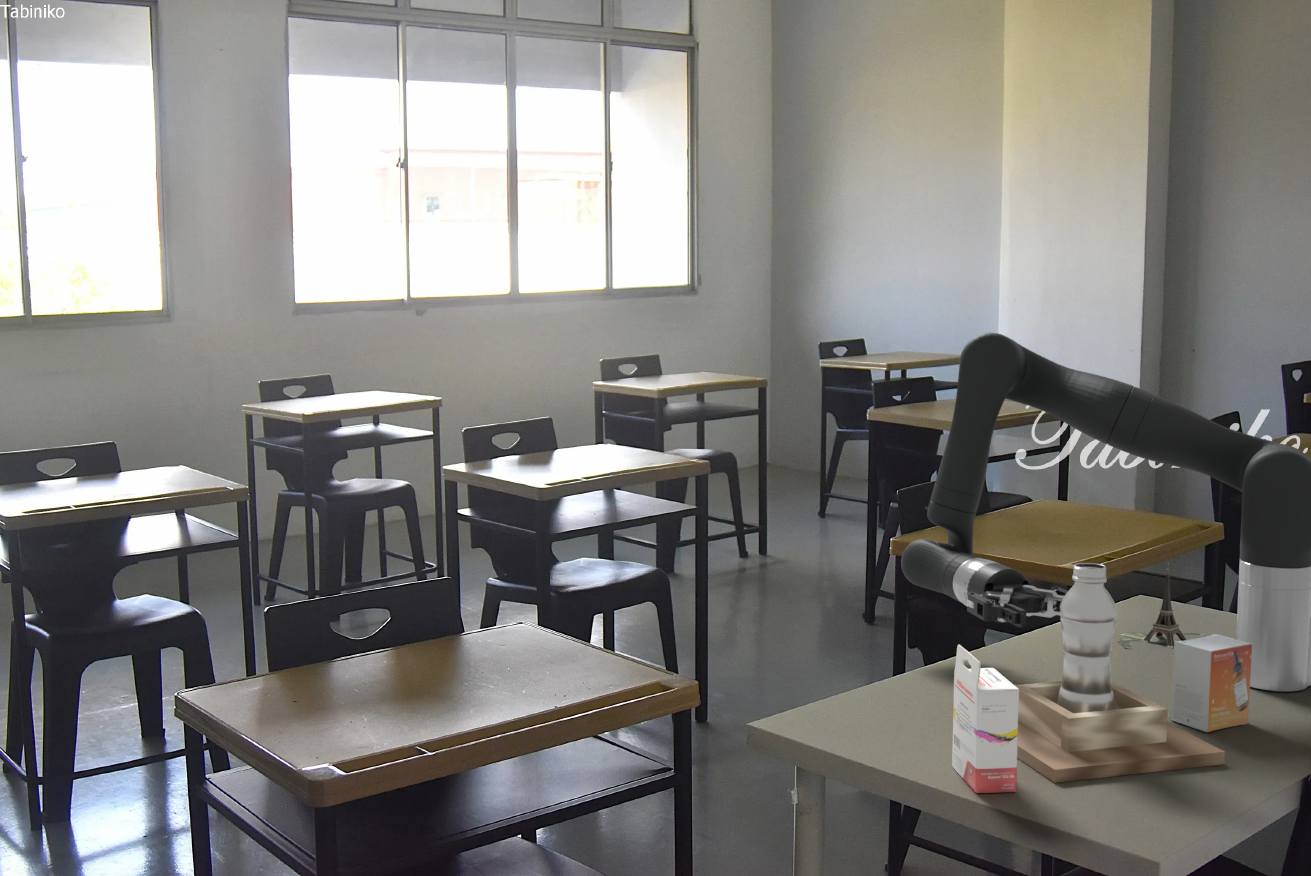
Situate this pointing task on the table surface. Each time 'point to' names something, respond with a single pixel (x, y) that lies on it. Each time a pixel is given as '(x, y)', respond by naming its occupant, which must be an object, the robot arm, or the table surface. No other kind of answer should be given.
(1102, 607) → the silver metal bottle
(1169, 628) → the eiffel tower figurine
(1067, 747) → the socket board
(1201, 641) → the small box
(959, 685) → the ink cartridge box
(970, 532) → the robot arm
